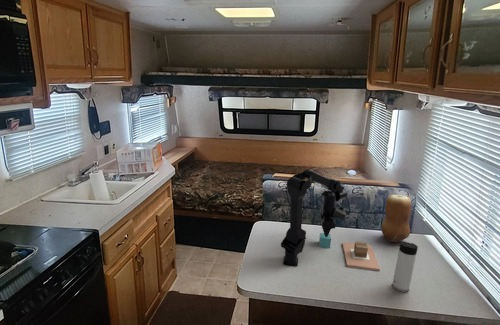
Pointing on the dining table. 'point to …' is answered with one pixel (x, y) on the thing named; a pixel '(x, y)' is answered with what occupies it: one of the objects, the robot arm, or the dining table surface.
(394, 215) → the butternut squash
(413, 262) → the travel mug
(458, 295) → the dining table surface
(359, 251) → the walnut block
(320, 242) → the teal block
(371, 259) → the baseplate
